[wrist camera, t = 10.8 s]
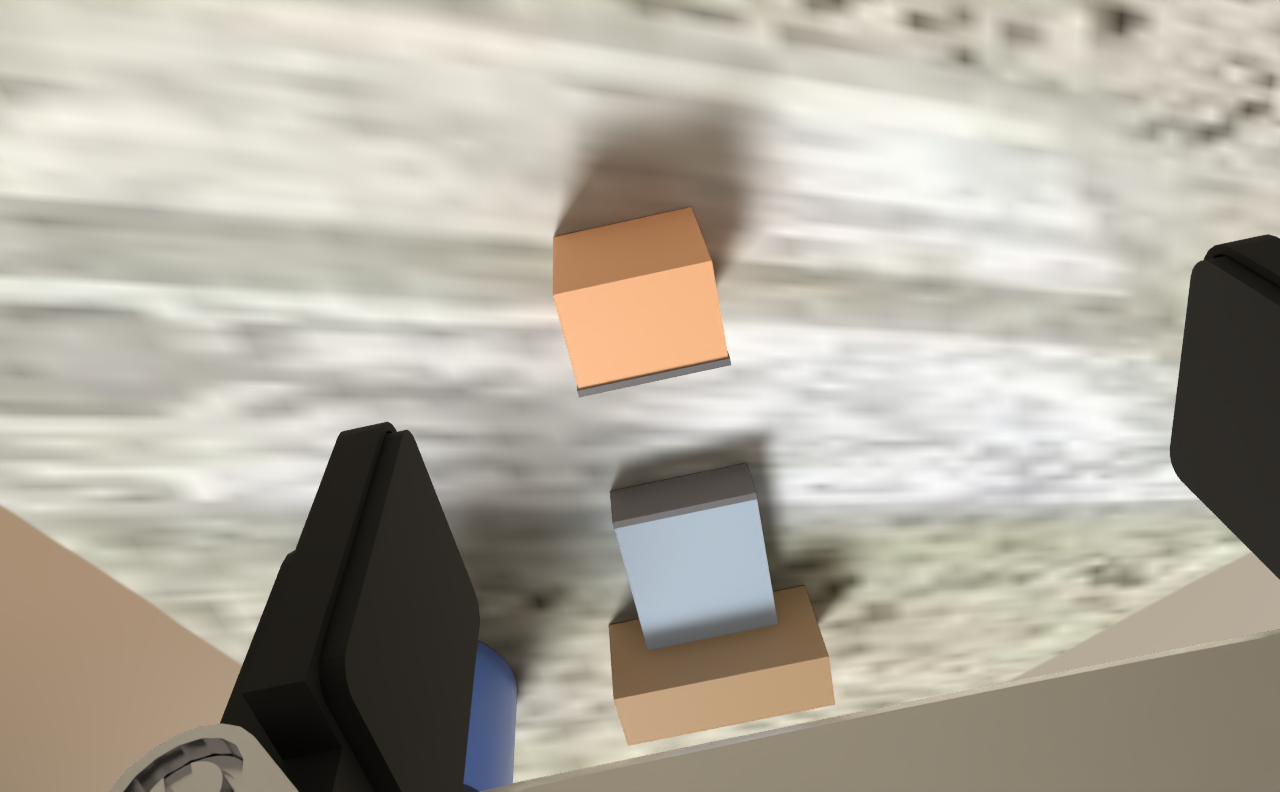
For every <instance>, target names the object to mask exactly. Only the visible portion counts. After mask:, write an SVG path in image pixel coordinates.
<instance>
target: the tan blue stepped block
mask: <svg viewBox="0 0 1280 792" xmlns="http://www.w3.org/2000/svg"><path fill="white" fill-rule="evenodd" d="M610 498H611V510H612V522H613V526H614V529H615V532H616V536H617V540H618V543H619V547H620V551H621V554H622V558H623V562H624V565H625V569H626V572H627V576H628V580H629V583H630V587H631V591H632V594H633V598H634V602H635V605H636V609H637V613H638V616H639V619H637V620H632V621H628V622H623V623H618V624H613V625H609V636H610V651H611V666H612V681H613V696H614V702H615V705H616V708H617V712H618V715H619V718H620V721H621V724H622V728H623V731H624V734H625V737H626V740H627V744H628V746H629V745H634V744H639V743H644V742H649V741H654V740H659V739H664V738H669V737H674V736H679V735H684V734H689V733H694V732H699V731H704V730H709V729H714V728H719V727H724V726H729V725H735V724H740V723H745V722H750V721H755V720H760V719H765V718H770V717H775V716H780V715H785V714H790V713H795V712H800V711H805V710H810V709H815V708H820V707H825V706H830V705H835V700H834V692H833V684H832V677H831V669H830V661H829V655H828V652H827V650H826V647H825V644H824V641H823V638H822V635H821V632H820V629H819V626H818V623H817V620H816V617H815V614H814V611H813V608H812V605H811V602H810V599H809V596H808V593H807V591H806V588H805V585H804V586H799V587H794V588H790V589H785V590H780V591H775V592H772V586H771V580H770V574H769V568H768V562H767V556H766V550H765V544H764V538H763V532H762V526H761V520H760V514H759V508H758V502H757V495H756V491H755V487H754V484H753V481H752V478H751V475H750V471H749V468H748V465H747V463H744V464H739V465H734V466H729V467H725V468H720V469H715V470H710V471H705V472H701V473H696V474H691V475H686V476H681V477H677V478H672V479H667V480H662V481H658V482H653V483H648V484H643V485H638V486H634V487H629V488H624V489H619V490H614V491H610Z"/></svg>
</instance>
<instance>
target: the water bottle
mask: <svg viewBox="0 0 1280 792" xmlns="http://www.w3.org/2000/svg"><path fill="white" fill-rule="evenodd" d="M516 704H517V685H516V679H515V676H514V674H513V671H512V669H511V668H510V666H509V665H508V663H507V662H506V660H505V659H504V658H503V657H501V656H500V655H499V654H498V653H497V652H496V651H495V650H493V649H491V648H490V647H488V646H487V645H485V644H483V643H481V642H479V641H478V644H477V654H476V664H475V674H474V683H473V693H472V703H471V713H470V723H469V733H468V743H467V753H466V763H465V773H464V782H463V792H480V791H484V790H488V789H492V788H496V787H501V786H505V785H509V784H513V767H514V746H515V725H516Z"/></svg>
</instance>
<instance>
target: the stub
mask: <svg viewBox="0 0 1280 792" xmlns="http://www.w3.org/2000/svg"><path fill="white" fill-rule="evenodd" d="M553 297H554V301H555V305H556V308H557V312H558V316H559V319H560V323H561V327H562V330H563V334H564V338H565V341H566V345H567V349H568V352H569V356H570V360H571V363H572V367H573V371H574V374H575V378H576V382H577V391H578V395H579V397H583V396H588V395H592V394H597V393H602V392H606V391H611V390H616V389H621V388H625V387H630V386H635V385H639V384H644V383H649V382H654V381H658V380H663V379H668V378H672V377H677V376H682V375H687V374H691V373H696V372H701V371H705V370H710V369H715V368H719V367H724V366H729V365H731V361H730V357H729V354H728V351H727V347H726V341H725V335H724V329H723V323H722V317H721V311H720V306H719V300H718V294H717V288H716V282H715V276H714V270H713V264H712V260H711V257H710V254H709V252H708V249H707V247H706V244H705V241H704V239H703V236H702V233H701V231H700V228H699V226H698V223H697V220H696V218H695V215H694V213H693V210H692V207H689V208H684V209H680V210H675V211H671V212H666V213H661V214H657V215H652V216H648V217H643V218H639V219H634V220H629V221H625V222H620V223H616V224H611V225H607V226H602V227H597V228H593V229H588V230H584V231H579V232H575V233H570V234H565V235H561V236H556V237H553Z"/></svg>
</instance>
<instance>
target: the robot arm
mask: <svg viewBox="0 0 1280 792" xmlns="http://www.w3.org/2000/svg"><path fill="white" fill-rule="evenodd" d="M1170 458H1171V463H1172V466H1173V468H1174V471H1175V472H1176V474H1177V476H1178V477H1179V479H1180V480H1181V481H1182V482H1183V483H1184V484H1185V485H1186V486H1187V487H1188V488H1189V489H1190V490H1191V491H1192V492H1193V493H1194V494H1195V495H1196V496H1197V497H1198V498H1199V499H1200V500H1201V501H1202V502H1203V503H1204V504H1205V505H1206V506H1207V507H1208V508H1209V509H1210V510H1211V511H1212V512H1213V513H1214V514H1215V515H1216V516H1217V517H1218V518H1219V519H1220V520H1221V521H1222V522H1223V523H1224V524H1225V525H1226V526H1227V527H1228V528H1229V529H1230V530H1231V531H1232V532H1233V533H1234V534H1235V535H1236V536H1237V537H1238V538H1239V539H1240V540H1241V541H1242V542H1243V543H1244V544H1245V545H1246V546H1247V547H1248V548H1249V549H1250V550H1251V551H1252V552H1253V553H1254V554H1255V555H1256V556H1257V557H1258V558H1259V559H1260V560H1261V561H1262V562H1263V563H1264V564H1265V565H1266V566H1267V567H1268V568H1269V569H1270V570H1271V571H1272V572H1273V573H1274V574H1275V575H1276V576H1277V577H1278V578H1279V579H1280V239H1279V238H1278V237H1275V236H1272V235H1262V236H1257V237H1253V238H1248V239H1243V240H1238V241H1234V242H1229V243H1224V244H1220V245H1215V246H1214V247H1212V248H1211V249H1210V250H1209V251H1208V252H1207V254H1206V256H1205V258H1204V260H1203V261H1200V262H1198V263H1197V264H1196V265H1195V266H1194V268H1193V270H1192V274H1191V279H1190V288H1189V296H1188V304H1187V312H1186V321H1185V329H1184V337H1183V345H1182V353H1181V362H1180V370H1179V378H1178V386H1177V394H1176V403H1175V411H1174V419H1173V427H1172V435H1171V444H1170ZM479 623H480V617H479V607H478V602H477V597H476V594H475V591H474V589H473V586H472V584H471V581H470V579H469V576H468V573H467V571H466V568H465V566H464V563H463V561H462V558H461V556H460V553H459V551H458V548H457V546H456V543H455V540H454V538H453V535H452V533H451V530H450V528H449V525H448V523H447V520H446V518H445V515H444V512H443V510H442V507H441V505H440V502H439V500H438V497H437V495H436V492H435V490H434V487H433V485H432V482H431V479H430V477H429V474H428V472H427V469H426V467H425V464H424V462H423V459H422V457H421V454H420V451H419V449H418V446H417V444H416V441H415V439H414V437H413V435H412V434H411V432H410V431H408V430H404V431H399V432H397V431H396V429H395V428H394V426H393V425H392V424H391V423H389V422H384V423H380V424H375V425H370V426H365V427H361V428H356V429H351V430H347V431H343V432H341V433H340V434H339V436H338V438H337V441H336V443H335V446H334V449H333V451H332V454H331V457H330V459H329V462H328V465H327V467H326V470H325V473H324V475H323V478H322V481H321V483H320V486H319V489H318V491H317V494H316V497H315V499H314V502H313V504H312V507H311V510H310V512H309V515H308V518H307V520H306V523H305V526H304V528H303V531H302V534H301V536H300V539H299V542H298V544H297V547H296V550H294V551H293V552H291V553H289V554H288V555H287V556H286V558H285V560H284V561H283V563H282V565H281V567H280V570H279V573H278V575H277V578H276V580H275V583H274V585H273V588H272V591H271V593H270V596H269V598H268V601H267V604H266V606H265V609H264V611H263V614H262V616H261V619H260V622H259V624H258V627H257V629H256V632H255V634H254V637H253V640H252V642H251V645H250V647H249V650H248V652H247V655H246V658H245V660H244V663H243V665H242V668H241V670H240V673H239V676H238V678H237V681H236V684H235V686H234V688H233V691H232V694H231V697H230V699H229V701H228V704H227V707H226V709H225V712H224V714H223V717H222V719H221V722H220V724H215V725H208V726H200V727H197V728H194V729H192V730H189V731H186V732H184V733H181V734H178V735H176V736H174V737H172V738H170V739H169V740H167V741H165V742H163V743H162V744H160V745H159V746H157V747H155V748H153V749H152V750H150V751H149V752H148V753H146V754H145V755H144V756H143V757H142V758H140V759H139V760H138V761H137V762H136V763H134V764H133V765H132V766H131V767H129V768H128V769H127V770H126V771H125V773H124V774H123V775H122V776H121V777H120V779H119V780H118V781H117V782H116V783H115V784H114V785H113V787H112V788H111V789H110V790H109V791H108V792H463V782H464V773H465V763H466V753H467V743H468V733H469V723H470V713H471V703H472V693H473V683H474V674H475V664H476V654H477V644H478V634H479ZM480 792H1280V629H1277V630H1273V631H1267V632H1262V633H1257V634H1252V635H1247V636H1241V637H1236V638H1231V639H1226V640H1221V641H1216V642H1210V643H1205V644H1200V645H1195V646H1189V647H1184V648H1179V649H1174V650H1169V651H1164V652H1159V653H1154V654H1148V655H1143V656H1139V657H1133V658H1128V659H1123V660H1118V661H1113V662H1108V663H1103V664H1098V665H1093V666H1088V667H1083V668H1078V669H1073V670H1067V671H1062V672H1057V673H1052V674H1047V675H1042V676H1038V677H1032V678H1027V679H1022V680H1017V681H1012V682H1007V683H1002V684H997V685H992V686H987V687H982V688H977V689H972V690H967V691H962V692H957V693H952V694H947V695H942V696H937V697H932V698H927V699H922V700H917V701H911V702H906V703H901V704H896V705H891V706H886V707H881V708H876V709H871V710H866V711H862V712H857V713H852V714H847V715H842V716H837V717H832V718H827V719H822V720H818V721H813V722H808V723H803V724H798V725H793V726H788V727H783V728H778V729H773V730H769V731H764V732H759V733H754V734H749V735H744V736H739V737H734V738H729V739H724V740H720V741H715V742H710V743H705V744H700V745H695V746H690V747H685V748H680V749H676V750H671V751H666V752H661V753H656V754H651V755H646V756H641V757H636V758H631V759H627V760H622V761H617V762H612V763H607V764H603V765H598V766H593V767H588V768H583V769H579V770H574V771H569V772H564V773H560V774H555V775H550V776H545V777H540V778H536V779H531V780H526V781H521V782H517V783H513V784H509V785H505V786H501V787H496V788H492V789H488V790H484V791H480Z"/></svg>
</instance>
